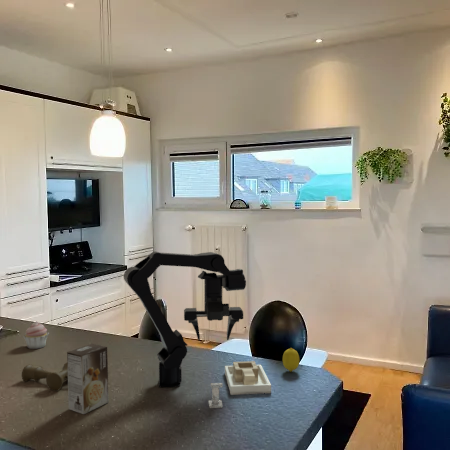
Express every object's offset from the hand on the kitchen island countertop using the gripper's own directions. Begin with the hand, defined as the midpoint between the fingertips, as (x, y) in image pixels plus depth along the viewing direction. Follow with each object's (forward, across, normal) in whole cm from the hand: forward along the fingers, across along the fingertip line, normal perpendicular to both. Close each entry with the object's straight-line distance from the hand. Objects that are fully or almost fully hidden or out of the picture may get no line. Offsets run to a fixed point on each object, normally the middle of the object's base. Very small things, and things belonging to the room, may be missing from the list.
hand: (213, 340), depth 151 cm
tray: (+12, +10, -6) cm, 17 cm away
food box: (+12, -36, -18) cm, 42 cm away
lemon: (+12, +26, +2) cm, 29 cm away
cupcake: (+12, -66, +38) cm, 77 cm away
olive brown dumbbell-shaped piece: (+12, -50, 0) cm, 52 cm away
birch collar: (+11, +10, -6) cm, 16 cm away
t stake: (+12, -1, -21) cm, 24 cm away
